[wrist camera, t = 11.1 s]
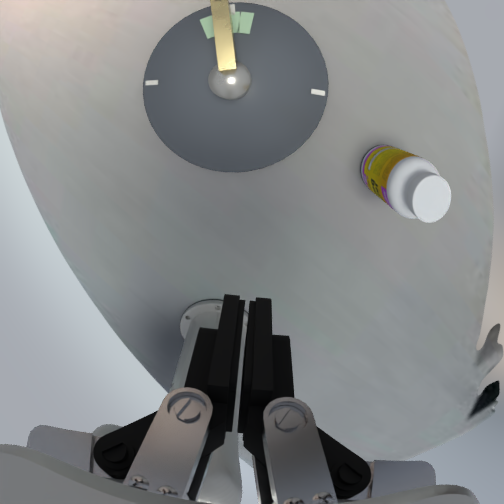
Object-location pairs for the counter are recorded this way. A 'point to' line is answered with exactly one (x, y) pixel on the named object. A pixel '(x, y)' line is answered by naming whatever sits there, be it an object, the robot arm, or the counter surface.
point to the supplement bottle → (406, 183)
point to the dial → (246, 108)
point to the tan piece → (227, 57)
